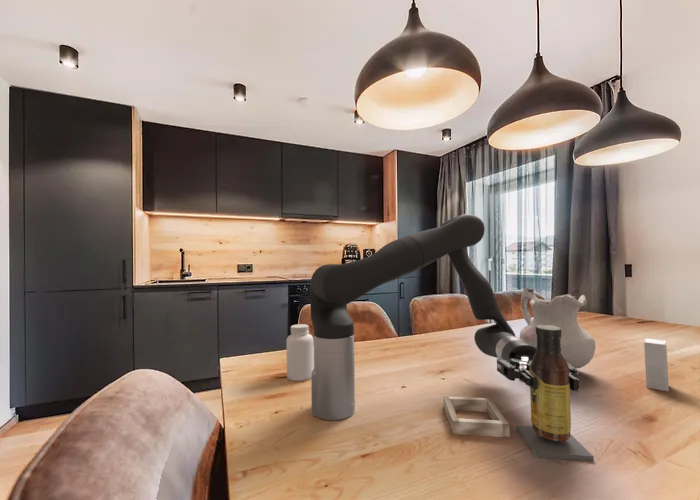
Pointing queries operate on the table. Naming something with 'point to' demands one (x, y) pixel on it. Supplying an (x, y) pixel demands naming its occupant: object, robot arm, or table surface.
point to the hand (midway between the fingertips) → (555, 384)
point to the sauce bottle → (550, 387)
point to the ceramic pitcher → (559, 325)
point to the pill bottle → (300, 353)
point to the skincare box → (656, 364)
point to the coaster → (553, 446)
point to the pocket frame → (475, 426)
